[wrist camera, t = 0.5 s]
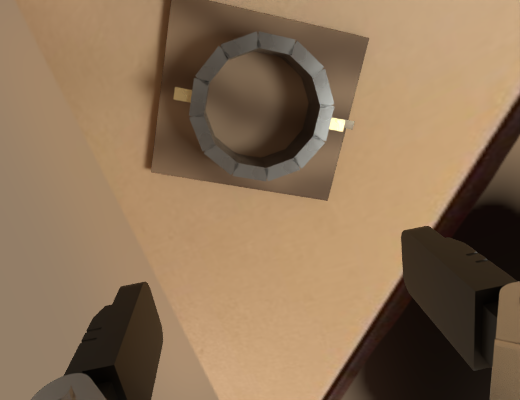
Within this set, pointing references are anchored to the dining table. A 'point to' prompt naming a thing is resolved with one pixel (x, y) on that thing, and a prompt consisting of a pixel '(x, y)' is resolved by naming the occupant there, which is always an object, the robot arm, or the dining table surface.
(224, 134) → the base plate
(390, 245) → the dining table surface
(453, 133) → the dining table surface
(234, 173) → the ring
